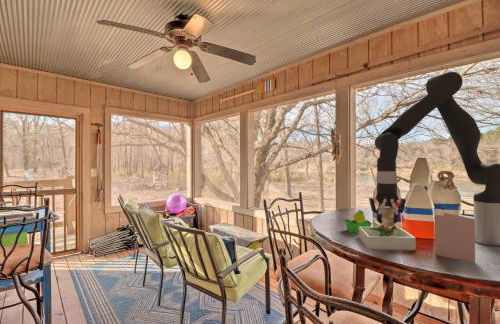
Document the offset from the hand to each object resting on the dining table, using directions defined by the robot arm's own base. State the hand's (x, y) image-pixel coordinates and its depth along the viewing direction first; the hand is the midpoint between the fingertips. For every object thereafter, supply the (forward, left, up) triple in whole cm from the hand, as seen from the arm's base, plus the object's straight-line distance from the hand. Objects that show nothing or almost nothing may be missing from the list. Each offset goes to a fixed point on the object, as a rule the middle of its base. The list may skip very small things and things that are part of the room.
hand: (387, 222), depth 108 cm
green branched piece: (0, -6, -9) cm, 11 cm away
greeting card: (-19, +10, -10) cm, 23 cm away
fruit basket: (+7, -20, -10) cm, 24 cm away
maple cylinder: (0, 0, -1) cm, 1 cm away
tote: (0, -3, -10) cm, 10 cm away
